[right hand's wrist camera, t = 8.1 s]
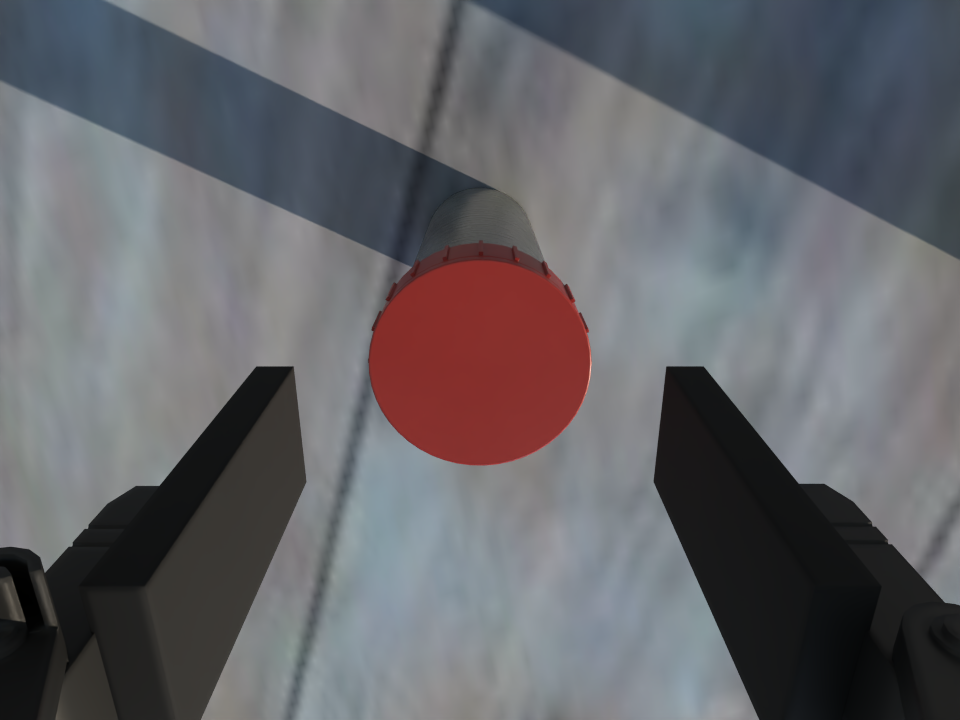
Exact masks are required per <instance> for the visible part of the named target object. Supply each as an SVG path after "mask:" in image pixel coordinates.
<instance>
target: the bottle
mask: <svg viewBox="0 0 960 720" xmlns="http://www.w3.org/2000/svg"><path fill="white" fill-rule="evenodd" d="M479 240H483V243H490V244H497V245H503V246H507V247H510V248H512V247H513V246H516V247H517V250H519V251H521V252H524V253H526V254H528V255H530V256H532V257H533V258H535V259H537V260H538V261H540V262H541V263H542V262H543V261H544V258H543V255H542V253H541V250H540V248H539V245H538V242H537V240H536V237H535V234H534V232H533V229H532V226H531V224H530V221H529V219H528V217H527V215H526V213H525V212H524V210H523V209H522V207H521V206H520V205H519V204H518V203H517V202H516V201H515V200H513V199H512V198H511V197H509V196H508V195H506V194H504V193H502V192H500V191H497V190H493V189H488V188H471V189H467V190H463V191H461V192H458V193H456V194H454V195H452V196H451V197H449V198H448V199H447V200H445V201H444V202H443V203H442V204H441V205H440V206H439V208H438V209H437V210H436V212H435V213H434V215H433V217H432V219H431V221H430V224H429V226H428V229H427V232H426V234H425V237H424V240H423V242H422V245H421V247H420V250H419V253H418V255H417V258H416V260H419V261H422V260H423V259H425V258H426V257H428V256H430V255H432V254H434V253H436V252H438V251H441V250H444V248H445V246H447V245H449V247H453V246H458V245H462V244H471V243H479Z"/></svg>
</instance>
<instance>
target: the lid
mask: <svg viewBox="0 0 960 720" xmlns="http://www.w3.org/2000/svg"><path fill="white" fill-rule="evenodd" d="M386 300H387V301H386V304H385V306H384V308H383V310H382V311H379V313H378V316H377V318H376V320H375V322H374V324H373V327H372V331H374V332H373V335H372V339H371V344H370V350H369V358H368V363H369V375H370V380H371V386H372V389H373V392H374V395H375V398H376V400H377V402H378V404H379V406H380V408H381V410H382V412H383V413H384V415H385V416H386V418H387V419H388V421H389V422H390V423H391V425H392V426H393V427H394V428H395V429H396V430H397V431H398V433H400V434H401V435H402V436H403V437H404V438H405V439H406V440H407V441H409V442H410V443H412V444H413V445H415V446H416V447H417V448H419V449H421V450H423V451H424V452H426V453H428V454H430V455H432V456H435V457H438V458H440V459H443V460H446V461H450V462H454V463H459V464H466V465H494V464H501V463H506V462H510V461H514V460H517V459H520V458H523V457H525V456H527V455H530V454H532V453H534V452H536V451H538V450H539V449H541V448H542V447H544V446H546V445H547V444H549V443H550V442H551V441H552V440H554V439H555V438H556V437H557V436H558V435H559V434H560V433H561V432H562V431H563V430H564V429H565V428H566V427H567V426H568V425H569V423H570V422H571V421H572V419H573V418H574V417H575V415H576V414H577V412H578V410H579V408H580V406H581V405H582V403H583V400H584V397H585V395H586V392H587V389H588V385H589V380H590V374H591V365H592V361H591V349H590V344H589V339H588V335H587V333H588V332H589V330H588V327H587V325H586V323H585V321H584V318H583V316H582V314H581V313H578V310H577V308H576V306H575V304H574V302H575V299H574V297H573V295H572V293H571V290H570V288H569V286H568V285H567V284H566V285H563V283H562V282H561V280H560V279H559V278H558V277H557V276H556V275H555V274H554V273H553V272H552V271H551V270H550V269H549V268H548V265H547V263H546V262H545V261H543V262H542V263H541V262H540V261H538V260H537V259H535V258H533V257H532V256H530V255H528V254H526V253H524V252H521V251H519V250H517V247H516V246H513V247H512V248H510V247H507V246H503V245H497V244H490V243H483V240H479V243H471V244H462V245H458V246H453V247H449V245H447V246H445V248H444V250H441V251H438V252H436V253H434V254H432V255H430V256H428V257H426V258H425V259H423V260H422V261H419V260H416V261H415V263H414V265H413V267H412V268H411V269H410V270H409V271H408V272H407V273H406V274H405V275H404V276H403V277H402V278H401V279H400V281H399V282H398V283H397V284H396V283H393V285H392V287H391V289H390V291H389V293H388V296H387V298H386Z"/></svg>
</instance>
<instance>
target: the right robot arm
mask: <svg viewBox="0 0 960 720" xmlns="http://www.w3.org/2000/svg"><path fill="white" fill-rule="evenodd" d="M305 484H306V474H305V465H304V456H303V447H302V438H301V429H300V420H299V411H298V402H297V393H296V384H295V375H294V367H256V368H255V369H254V370H253V371H252V373H251V374H250V375H249V376H248V378H247V379H246V380H245V381H244V382H243V384H242V385H241V386H240V387H239V389H238V390H237V391H236V392H235V394H234V395H233V396H232V397H231V398H230V400H229V401H228V402H227V403H226V405H225V406H224V407H223V408H222V410H221V411H220V412H219V413H218V415H217V416H216V417H215V418H214V419H213V421H212V422H211V423H210V424H209V426H208V427H207V428H206V429H205V431H204V432H203V433H202V434H201V435H200V437H199V438H198V439H197V440H196V442H195V443H194V444H193V445H192V447H191V448H190V449H189V450H188V452H187V453H186V454H185V455H184V456H183V458H182V459H181V460H180V461H179V463H178V464H177V465H176V466H175V468H174V469H173V470H172V471H171V472H170V474H169V475H168V476H167V477H166V479H165V480H164V481H163V482H162V484H161V485H160V486H135V487H134V488H132V489H131V490H129V491H127V492H126V493H124V494H123V495H121V496H119V497H118V498H116V499H115V500H113V501H111V502H110V503H108V504H107V505H106V506H105V507H104V508H103V509H102V511H101V512H100V513H99V514H98V515H97V516H96V517H95V518H94V519H93V520H92V522H91V523H90V524H89V527H88V529H84V530H83V532H82V533H81V534H80V535H79V536H78V537H77V538H76V539H75V540H74V542H73V546H72V547H68V548H67V549H66V550H65V552H64V553H63V554H62V555H61V556H60V557H59V558H58V559H57V560H56V562H55V563H54V564H53V565H52V566H51V567H50V568H49V569H48V570H47V572H46V573H45V572H44V569H43V566H42V562H41V559H40V557H39V556H38V555H36V554H35V553H33V552H32V551H31V550H29V549H22V548H15V547H4V548H0V720H201V718H202V716H203V713H204V711H205V709H206V707H207V704H208V702H209V700H210V698H211V695H212V693H213V691H214V689H215V686H216V684H217V682H218V680H219V677H220V675H221V673H222V671H223V668H224V666H225V664H226V662H227V659H228V657H229V655H230V653H231V650H232V648H233V646H234V643H235V641H236V639H237V637H238V634H239V632H240V630H241V628H242V625H243V623H244V621H245V619H246V616H247V614H248V612H249V610H250V607H251V605H252V603H253V601H254V598H255V596H256V594H257V592H258V589H259V587H260V585H261V583H262V580H263V578H264V576H265V574H266V571H267V569H268V567H269V565H270V562H271V560H272V558H273V556H274V553H275V551H276V549H277V547H278V544H279V542H280V540H281V538H282V535H283V533H284V531H285V529H286V526H287V524H288V522H289V520H290V517H291V515H292V513H293V511H294V508H295V506H296V504H297V502H298V499H299V497H300V495H301V493H302V490H303V488H304V486H305ZM654 484H655V486H656V488H657V490H658V493H659V495H660V497H661V499H662V502H663V504H664V506H665V508H666V511H667V513H668V515H669V517H670V520H671V522H672V524H673V526H674V529H675V531H676V533H677V535H678V538H679V540H680V542H681V544H682V547H683V549H684V551H685V553H686V556H687V558H688V560H689V562H690V565H691V567H692V569H693V571H694V574H695V576H696V578H697V580H698V583H699V585H700V587H701V589H702V592H703V594H704V596H705V598H706V601H707V603H708V605H709V607H710V610H711V612H712V614H713V616H714V619H715V621H716V623H717V626H718V628H719V630H720V632H721V635H722V637H723V639H724V641H725V644H726V646H727V648H728V650H729V653H730V655H731V657H732V659H733V662H734V664H735V666H736V668H737V671H738V673H739V675H740V677H741V680H742V682H743V684H744V686H745V689H746V691H747V693H748V695H749V698H750V700H751V702H752V704H753V707H754V709H755V711H756V713H757V716H758V718H759V720H960V606H959V605H956V604H950V603H945V602H944V601H943V600H942V599H941V598H940V597H939V596H938V595H937V594H936V592H935V591H934V590H933V589H932V588H931V587H930V586H929V585H928V584H927V583H926V581H925V580H924V579H923V578H922V577H921V576H920V575H919V574H918V573H917V572H916V570H915V569H914V568H913V567H912V566H911V565H910V564H909V563H908V562H907V561H906V559H905V558H904V557H903V556H902V555H901V554H900V553H899V552H898V551H897V549H896V548H895V547H894V546H893V545H892V544H888V540H887V538H886V537H885V536H884V535H883V534H882V533H881V532H880V531H879V530H878V529H877V527H873V526H872V522H871V521H870V520H869V519H868V518H867V516H866V515H865V514H864V513H863V512H862V511H861V510H860V509H859V508H858V507H857V505H856V504H855V503H854V502H853V501H851V500H850V499H848V498H846V497H845V496H843V495H841V494H840V493H838V492H837V491H835V490H833V489H832V488H830V487H829V486H827V485H825V484H798V482H797V481H796V480H795V479H794V477H793V476H792V475H791V474H790V473H789V471H788V470H787V469H786V468H785V466H784V465H783V464H782V463H781V461H780V460H779V459H778V458H777V456H776V455H775V454H774V453H773V452H772V450H771V449H770V448H769V447H768V445H767V444H766V443H765V442H764V440H763V439H762V438H761V437H760V436H759V434H758V433H757V432H756V431H755V429H754V428H753V427H752V426H751V424H750V423H749V422H748V421H747V419H746V418H745V417H744V416H743V415H742V413H741V412H740V411H739V410H738V408H737V407H736V406H735V405H734V403H733V402H732V401H731V400H730V399H729V397H728V396H727V395H726V394H725V392H724V391H723V390H722V389H721V387H720V386H719V385H718V384H717V382H716V381H715V380H714V379H713V378H712V376H711V375H710V374H709V373H708V371H707V370H706V369H705V368H704V367H666V375H665V384H664V393H663V402H662V411H661V420H660V429H659V438H658V447H657V456H656V465H655V474H654Z"/></svg>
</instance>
